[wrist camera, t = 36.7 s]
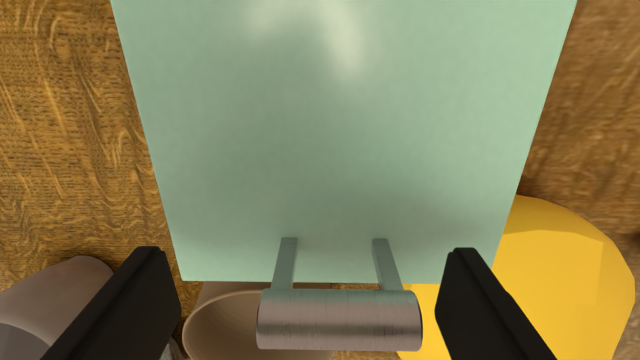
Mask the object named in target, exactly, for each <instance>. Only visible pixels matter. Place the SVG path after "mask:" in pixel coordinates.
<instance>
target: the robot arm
mask: <svg viewBox="0 0 640 360" xmlns="http://www.w3.org/2000/svg"><path fill="white" fill-rule="evenodd" d="M434 314H435V319H436V322H437V325H438V327H439V330H440V332H441V335H442V337H443V340H444V342H445V345H446V347H447V350H448V352H449V355H450V357H451V360H558V359H557V358H556V357H555V355H554V354H553V352H552V351H551V350H550V348H549V347H548V346H547V344H546V343H545V341H544V340H543V339H542V337H541V336H540V334H539V333H538V332H537V330H536V329H535V328H534V326H533V325H532V323H531V322H530V321H529V319H528V318H527V316H526V315H525V314H524V312H523V311H522V310H521V308H520V307H519V305H518V304H517V303H516V301H515V300H514V298H513V297H512V296H511V295H510V294H509V293H508V292H507V291H506V290H505V289H504V287H503V286H502V285H501V283H500V282H499V280H498V279H497V278H496V276H495V275H494V273H493V272H492V271H491V269H490V268H489V266H488V265H487V264H486V262H485V261H484V259H483V258H482V257H481V255H480V254H479V252H478V251H477V250H476V249H475V248H473V247H456V248H454V249H453V252H449V253H448V255H447V259H446V264H445V268H444V272H443V276H442V280H441V284H440V288H439V292H438V296H437V300H436V304H435V309H434ZM180 317H181V305H180V301H179V298H178V294H177V291H176V288H175V284H174V281H173V278H172V274H171V271H170V267H169V264H168V261H167V257H166V254H165V252H164V251H161V250H160V248H159V247H157V246H139V247H137V248H136V249H135V250H134V251H133V252H132V253H131V254H130V255H129V257H128V258H127V259H126V260H125V261H124V262H123V264H122V265H121V266H120V267H119V268H118V269H117V270H116V272H115V273H114V274H113V275H112V276H111V277H110V279H109V280H108V281H107V282H106V283H105V284H104V286H103V287H102V288H101V289H100V290H99V291H98V292H97V294H96V295H95V296H94V297H93V298H92V299H91V301H90V302H89V303H88V304H87V305H86V306H85V307H84V309H83V310H82V311H81V312H80V313H79V314H78V316H77V317H76V318H75V319H74V320H73V321H72V323H71V324H70V325H69V326H68V327H67V328H66V329H65V331H64V332H63V333H62V334H61V335H60V336H59V338H58V339H57V340H56V341H55V342H54V343H53V344H52V346H51V347H50V348H49V349H48V350H47V351H46V353H45V354H44V355H43V356H42V357H41V358H40V360H160V358H161V356H162V354H163V352H164V350H165V348H166V346H167V344H168V342H169V340H170V338H171V336H172V334H173V332H174V330H175V328H176V326H177V324H178V321H179V319H180Z"/></svg>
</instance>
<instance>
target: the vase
mask: <svg viewBox="0 0 640 360" xmlns="http://www.w3.org/2000/svg"><path fill="white" fill-rule="evenodd" d="M491 271H492V272H493V273H494V275H495V276H496V278H497V279H498V280H499V282H500V283H501V285H502V286H503V287H504V289H505V290H506V291H507V292H508V293H509V294H510V295H511V296H512V297H513V298H514V300H515V301H516V303H517V304H518V305H519V307H520V308H521V310H522V311H523V312H524V314H525V315H526V316H527V318H528V319H529V321H530V322H531V323H532V325H533V326H534V328H535V329H536V330H537V332H538V333H539V334H540V336H541V337H542V339H543V340H544V341H545V343H546V344H547V346H548V347H549V348H550V350H551V351H552V352H553V354H554V355H555V357H556V358H557V359H558V360H612V357H613V354H614V351H615V349H616V347H617V344H618V342H619V340H620V337H621V335H622V333H623V331H624V328H625V326H626V324H627V321H628V318H629V316H630V313H631V311H632V308H633V305H634V303H635V279H634V277H633V275H632V273H631V271H630V269H629V268H628V266H627V264H626V262H625V260H624V258H623V257H622V255H621V253H620V252H619V250H618V249H617V247H616V245H615V244H614V242H613V241H612V240H611V239H610V238H609V237H607V236H606V235H605V234H604V233H602V232H601V231H600V230H598V229H597V228H596V227H595V226H593V225H592V224H591V223H589V222H588V221H586V220H585V219H583V218H582V217H580V216H579V215H577V214H576V213H574V212H573V211H571V210H570V209H568V208H565V207H562V206H559V205H557V204H554V203H551V202H548V201H545V200H543V199H538V198H533V197H527V196H521V195H516V194H515V197H514V200H513V203H512V206H511V209H510V212H509V216H508V219H507V222H506V225H505V228H504V231H503V234H502V238H501V241H500V244H499V247H498V250H497V253H496V256H495V259H494V263H493V266H492V269H491ZM402 286H403V289H404V290H411V291H413V292H414V293H415V295H416V297H417V299H418V302H419V305H420V309H421V314H422V321H423V341H422V346H421V349H420V350H419V351H417V352H411V351H396V352H397V353H398V355H399V356H400V358H401V359H402V360H451V357H450V355H449V352H448V350H447V347H446V345H445V342H444V340H443V337H442V335H441V332H440V330H439V327H438V325H437V322H436V319H435V314H434V309H435V304H436V300H437V296H438V292H439V288H440V284H402ZM379 290H380V289H379Z"/></svg>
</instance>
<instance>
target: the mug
mask: <svg viewBox="0 0 640 360" xmlns="http://www.w3.org/2000/svg"><path fill="white" fill-rule="evenodd" d="M112 275H113V272H112V270H111V269H110V268H109V266H107V265H106V264H105V263H104V262H102V261H101V260H99V259H96V258H94V257H90V256H75V257H73V258H71V259H69V260H67V261H65V262H62V263H59V264H56V265H53V266H50V267H48V268H45V269H43V270H41V271H39V272H36V273H34V274H32V275H31V276H29V277H27V278H25V279H23V280H21V281H20V282H18V283H16V284H15V285H13V286H11V287H10V288H8V289H7V290H5V291H4V292H2V293H1V294H0V360H40V358H41V357H42V356H43V355H44V354H45V353H46V351H47V350H48V349H49V348H50V347H51V346H52V344H53V343H54V342H55V341H56V340H57V339H58V338H59V336H60V335H61V334H62V333H63V332H64V331H65V329H66V328H67V327H68V326H69V325H70V324H71V323H72V321H73V320H74V319H75V318H76V317H77V316H78V314H79V313H80V312H81V311H82V310H83V309H84V307H85V306H86V305H87V304H88V303H89V302H90V301H91V299H92V298H93V297H94V296H95V295H96V294H97V292H98V291H99V290H100V289H101V288H102V287H103V286H104V284H105V283H106V282H107V281H108V280H109V279H110V277H111V276H112Z"/></svg>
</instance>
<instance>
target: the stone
mask: <svg viewBox="0 0 640 360" xmlns="http://www.w3.org/2000/svg"><path fill="white" fill-rule="evenodd" d="M160 360H184V357H183V355H182V353H181V352H180V349H179V347H178V345H177V343H176V341H175V340H174V339H173V338H172V336H171V338H170V340H169V342H168V344H167V346H166V348H165V350H164V352H163V354H162V356H161V358H160Z"/></svg>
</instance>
